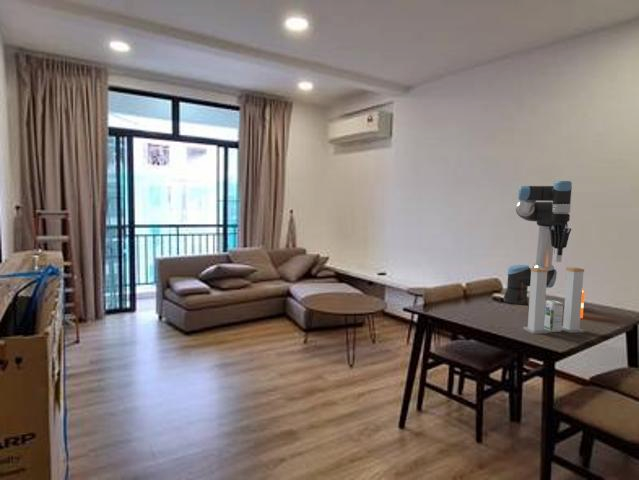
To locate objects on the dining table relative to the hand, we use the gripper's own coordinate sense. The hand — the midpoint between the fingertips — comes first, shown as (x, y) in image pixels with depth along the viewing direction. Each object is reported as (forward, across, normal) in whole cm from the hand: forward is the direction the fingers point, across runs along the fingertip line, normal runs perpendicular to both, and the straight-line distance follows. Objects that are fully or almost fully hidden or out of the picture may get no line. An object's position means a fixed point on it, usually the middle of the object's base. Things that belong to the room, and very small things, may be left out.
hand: (557, 261), depth 205 cm
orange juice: (+35, -24, +30) cm, 52 cm away
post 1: (+34, 0, -10) cm, 36 cm away
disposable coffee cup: (+35, -28, +9) cm, 46 cm away
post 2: (+34, 0, +9) cm, 36 cm away
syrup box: (+35, 0, 0) cm, 35 cm away
